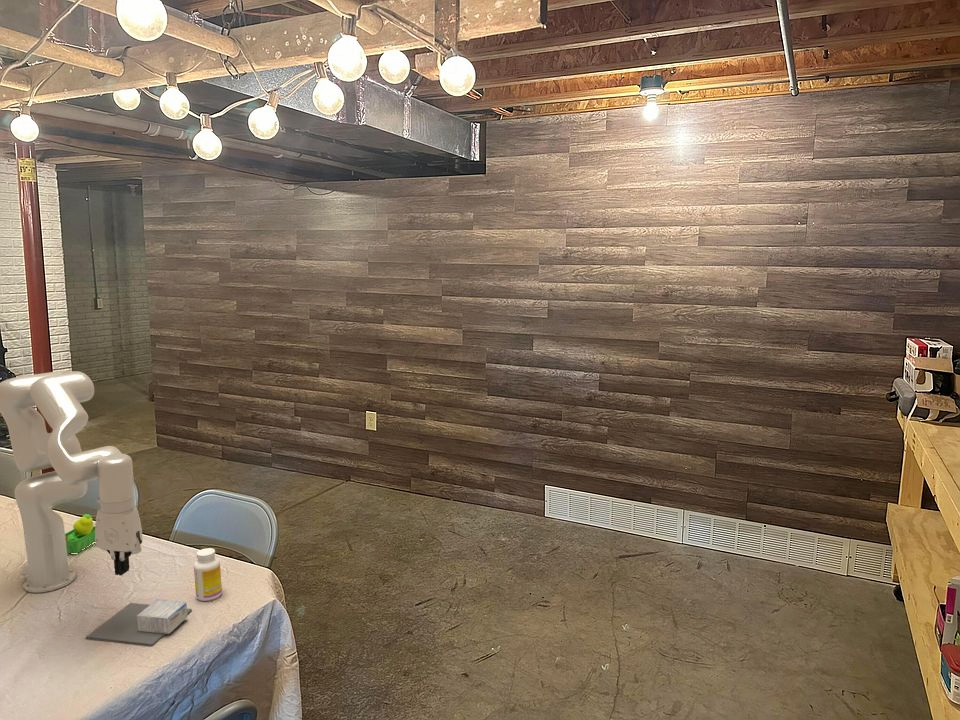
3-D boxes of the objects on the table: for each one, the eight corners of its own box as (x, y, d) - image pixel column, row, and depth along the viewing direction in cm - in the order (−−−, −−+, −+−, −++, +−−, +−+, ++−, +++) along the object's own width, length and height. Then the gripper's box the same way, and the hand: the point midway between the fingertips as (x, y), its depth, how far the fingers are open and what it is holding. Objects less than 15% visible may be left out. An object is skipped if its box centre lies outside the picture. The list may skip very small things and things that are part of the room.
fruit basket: (81, 539, 219) (78, 507, 217) (106, 541, 217) (103, 508, 216) (55, 555, 207) (51, 521, 206) (81, 557, 206) (77, 522, 204)
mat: (85, 638, 163) (85, 636, 163) (130, 604, 178) (130, 602, 178) (152, 646, 160) (151, 644, 160) (191, 611, 175) (191, 608, 175)
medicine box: (137, 631, 165) (169, 635, 164) (135, 614, 164) (167, 618, 163) (157, 614, 173) (188, 617, 171) (156, 598, 172) (187, 601, 170)
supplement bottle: (227, 591, 185) (224, 548, 183) (210, 603, 179) (207, 558, 177) (207, 587, 187) (204, 544, 185) (190, 599, 181) (187, 555, 179)
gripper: (79, 507, 162) (84, 576, 166) (134, 513, 160) (139, 584, 163) (101, 495, 169) (106, 561, 173) (154, 501, 167) (158, 569, 171)
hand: (122, 572), depth 168 cm, fingers closed
